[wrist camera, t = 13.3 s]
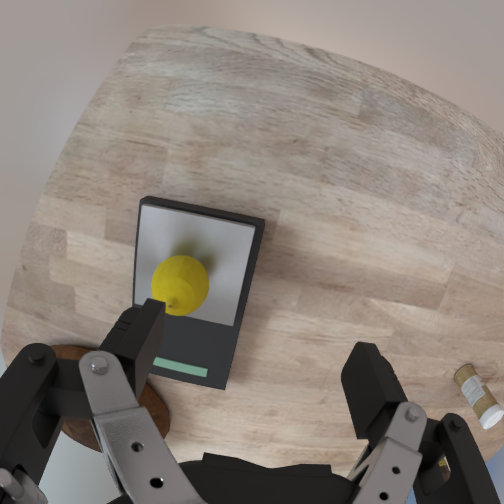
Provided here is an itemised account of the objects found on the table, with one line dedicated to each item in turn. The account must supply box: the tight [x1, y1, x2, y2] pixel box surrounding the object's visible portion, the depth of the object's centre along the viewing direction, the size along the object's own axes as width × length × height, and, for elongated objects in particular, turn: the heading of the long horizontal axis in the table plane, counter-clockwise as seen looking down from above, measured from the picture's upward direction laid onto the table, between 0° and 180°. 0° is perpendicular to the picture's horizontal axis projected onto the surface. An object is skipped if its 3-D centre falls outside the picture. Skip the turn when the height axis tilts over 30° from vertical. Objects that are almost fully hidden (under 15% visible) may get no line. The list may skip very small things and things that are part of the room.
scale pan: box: [135, 204, 255, 326], centre depth 33 cm, size 12×12×1 cm
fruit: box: [151, 255, 209, 316], centre depth 29 cm, size 6×6×8 cm
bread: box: [50, 345, 170, 453], centre depth 43 cm, size 28×27×9 cm
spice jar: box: [454, 364, 504, 429], centre depth 37 cm, size 5×5×14 cm
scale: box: [132, 196, 265, 390], centre depth 37 cm, size 14×25×4 cm, turn 168°
